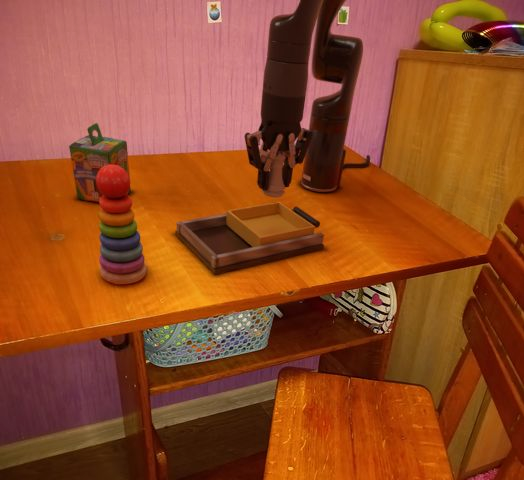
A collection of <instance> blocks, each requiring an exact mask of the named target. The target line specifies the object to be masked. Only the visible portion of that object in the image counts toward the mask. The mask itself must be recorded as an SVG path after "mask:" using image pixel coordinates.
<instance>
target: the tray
mask: <svg viewBox="0 0 524 480" xmlns="http://www.w3.org/2000/svg"><path fill="white" fill-rule="evenodd" d="M226 214H227V216H226V225H227V226H228V227H230V228H231V229H232V230H233V231H234V232H236V233H237V234H238V235H239V236H240V237H241V238H243V239H244V240H245V241H246V242H247V243H249V244H250V245H251V246H252V247H257V246H262V245H267V244H271V243H276V242H281V241H285V240H290V239H295V238H299V237H304V236H308V235H313V234H315V229H318V228H319V227H320V226H321V222H320V221H319V220H318V219H316V218H315V217H314V216H311V215H310V214H309V213H307V212H305V211H304V210H303V209H301V208H300V207H299V206H294V207H293V208H292V209H291V208H289V207H288V206H286V205H285V204H283V202H281V201H275V202H269V203H263V204H258V205H257V204H256V205H251V206H245V207H239V208H234V209H228V210H226Z"/></svg>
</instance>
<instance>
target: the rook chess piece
mask: <svg viewBox="0 0 524 480" xmlns="http://www.w3.org/2000/svg"><path fill="white" fill-rule="evenodd" d="M285 159H286V157H285V155H284V151H279V152H277V153H276V156H275V159H274V160H272V163H271V165H270V168H269V170H268V171H270V173H269V183H268V190H265V191H263V190H262V189H261V191H262V193H263V194H264V196H266V197H270V198H281V197H283V196H284V195H285V193H286V191H285V189H286V187H285V185H284V184H283V180H282V167H283V166H284V163H283V161H284V160H285Z"/></svg>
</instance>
